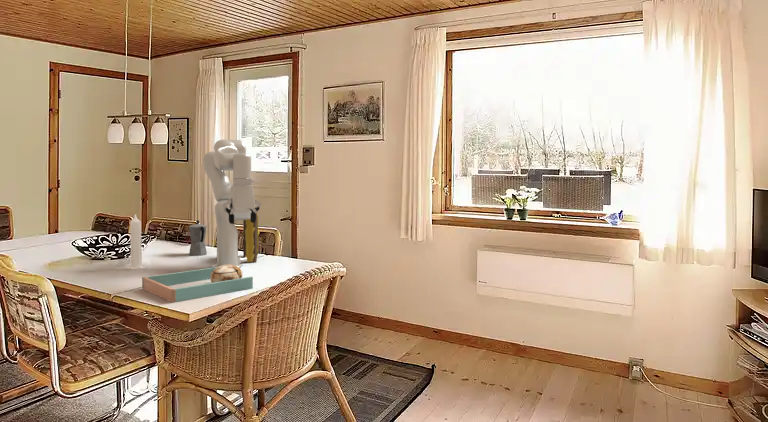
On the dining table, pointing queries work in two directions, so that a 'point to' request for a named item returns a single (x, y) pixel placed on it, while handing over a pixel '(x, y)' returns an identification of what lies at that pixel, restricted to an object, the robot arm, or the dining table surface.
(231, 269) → the trinket box
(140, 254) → the candle
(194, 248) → the coffeepot
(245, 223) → the book
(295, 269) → the dining table surface
